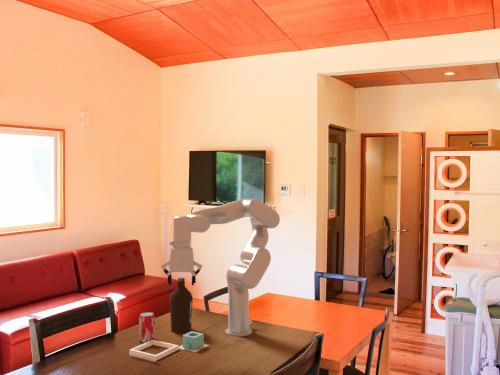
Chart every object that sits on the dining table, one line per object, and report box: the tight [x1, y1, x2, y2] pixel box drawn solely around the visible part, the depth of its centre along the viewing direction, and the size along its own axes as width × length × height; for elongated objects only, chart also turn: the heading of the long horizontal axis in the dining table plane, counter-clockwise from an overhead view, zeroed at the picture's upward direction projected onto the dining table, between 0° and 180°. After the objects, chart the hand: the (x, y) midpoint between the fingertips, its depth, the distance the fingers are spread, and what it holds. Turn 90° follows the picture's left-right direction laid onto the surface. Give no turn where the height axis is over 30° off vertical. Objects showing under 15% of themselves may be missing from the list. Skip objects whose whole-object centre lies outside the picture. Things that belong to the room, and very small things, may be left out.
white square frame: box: [128, 339, 180, 363], centre depth 196 cm, size 14×14×2 cm
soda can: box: [138, 311, 156, 344], centre depth 211 cm, size 7×7×12 cm
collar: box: [181, 330, 205, 351], centre depth 202 cm, size 8×6×5 cm
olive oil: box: [169, 277, 194, 334], centre depth 224 cm, size 11×11×25 cm
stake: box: [179, 343, 210, 353], centre depth 203 cm, size 10×10×5 cm
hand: (181, 284), depth 205 cm, fingers open, 9 cm apart
